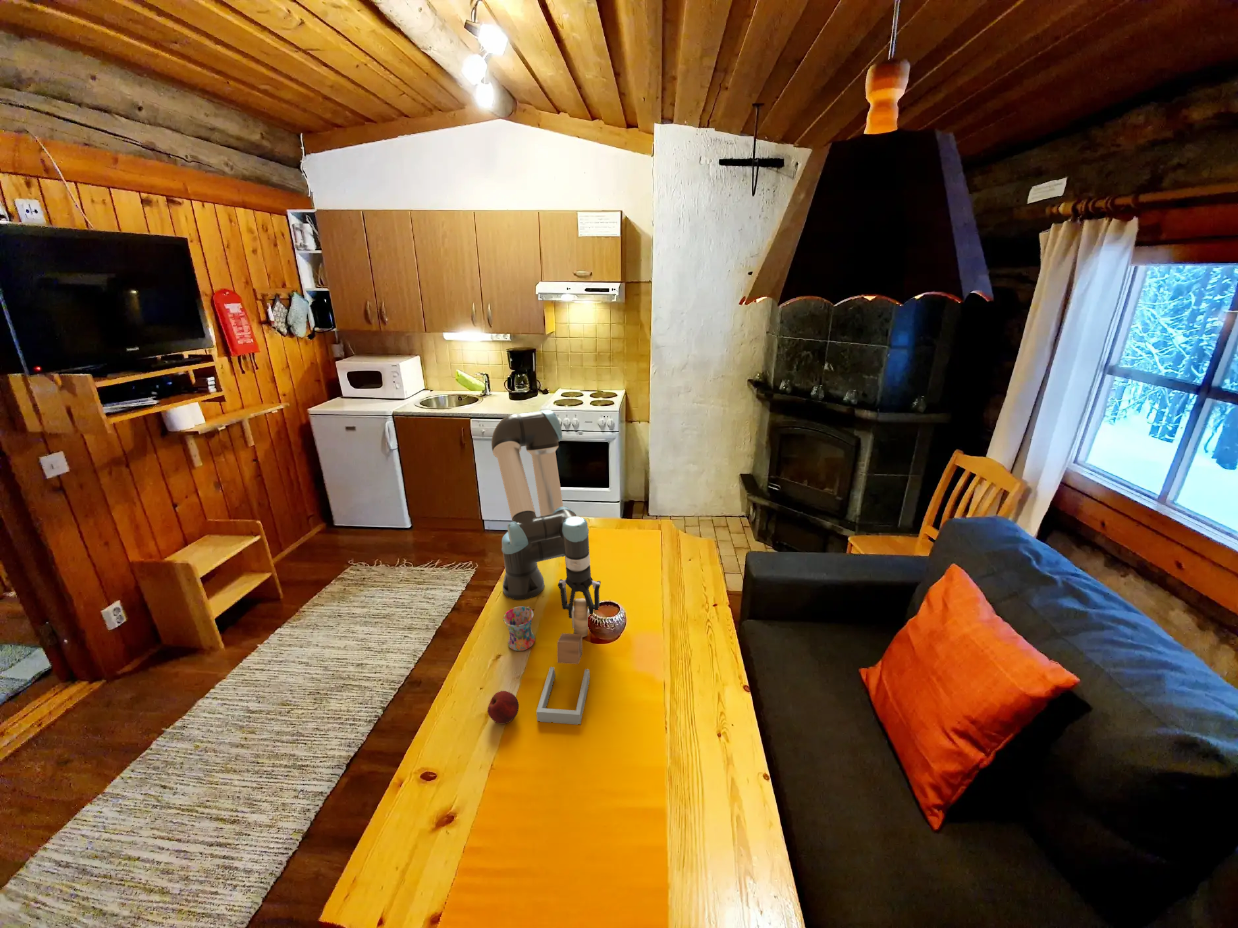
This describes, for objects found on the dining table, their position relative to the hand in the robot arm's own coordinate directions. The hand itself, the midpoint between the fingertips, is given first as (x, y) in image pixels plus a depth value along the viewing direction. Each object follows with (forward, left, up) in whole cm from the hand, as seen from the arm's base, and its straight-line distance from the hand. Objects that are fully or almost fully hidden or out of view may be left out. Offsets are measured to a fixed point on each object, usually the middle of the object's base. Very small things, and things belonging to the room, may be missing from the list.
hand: (582, 625), depth 158 cm
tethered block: (+11, 0, +2) cm, 12 cm away
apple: (+35, -14, -2) cm, 38 cm away
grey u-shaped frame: (+27, 0, -2) cm, 27 cm away
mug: (+6, -18, -2) cm, 19 cm away
